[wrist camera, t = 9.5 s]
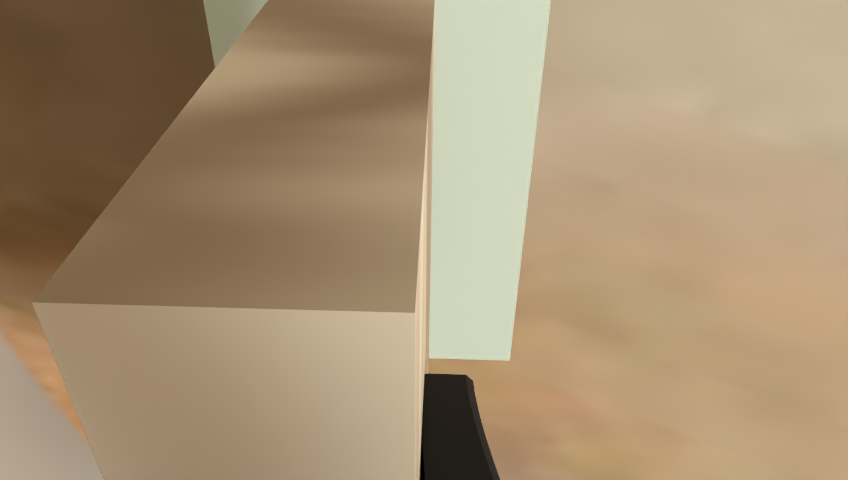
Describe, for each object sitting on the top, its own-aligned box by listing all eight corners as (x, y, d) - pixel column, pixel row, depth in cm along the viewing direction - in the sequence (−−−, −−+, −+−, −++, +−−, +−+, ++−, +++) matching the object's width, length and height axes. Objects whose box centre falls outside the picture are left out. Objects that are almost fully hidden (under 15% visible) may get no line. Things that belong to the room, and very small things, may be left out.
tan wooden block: (435, -13, 11) (414, 311, 4) (428, 383, 16) (413, 808, 10) (280, -17, 11) (31, 302, 4) (322, 379, 16) (234, 800, 10)
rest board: (507, 340, 20) (509, 360, 19) (270, 333, 20) (264, 353, 20) (557, -116, 13) (563, -109, 13) (196, -122, 13) (183, -115, 13)
